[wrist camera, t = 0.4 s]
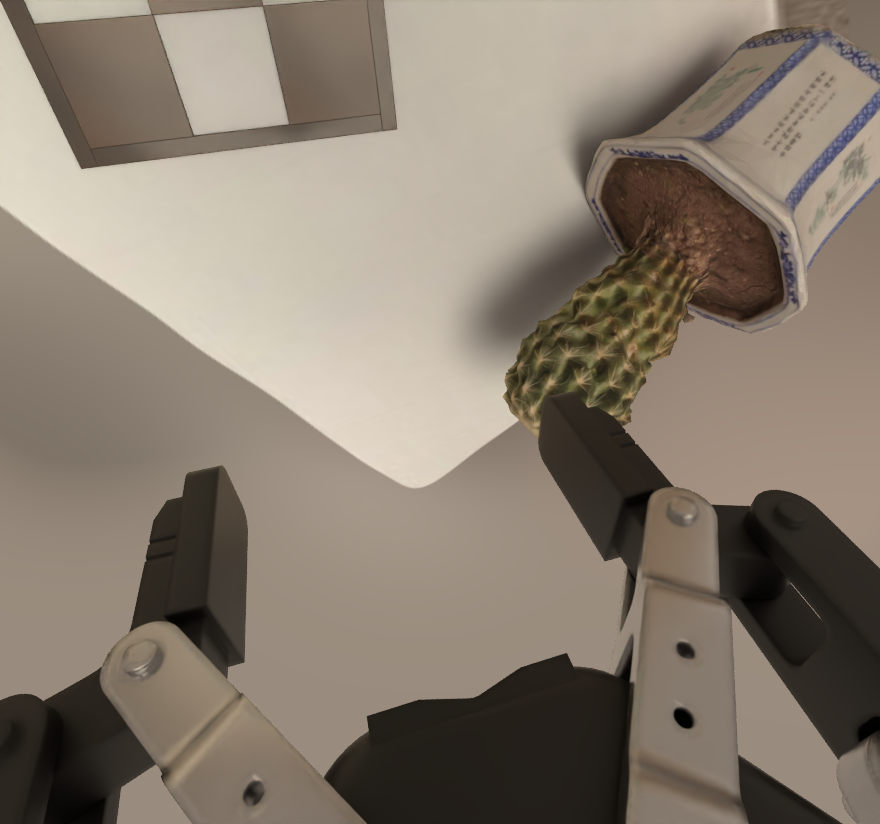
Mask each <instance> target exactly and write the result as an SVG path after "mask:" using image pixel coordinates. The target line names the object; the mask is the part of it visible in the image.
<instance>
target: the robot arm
mask: <svg viewBox="0 0 880 824" xmlns="http://www.w3.org/2000/svg"><path fill="white" fill-rule="evenodd" d="M538 445H539V451H540V454H541V457H542V460H543V462H544V463H545V465H546V467H547V468H548V470H549V472H550V473H551V475H552V476H553V478H554V480H555V481H556V483H557V485H558V486H559V488H560V489H561V491H562V493H563V494H564V496H565V498H566V499H567V501H568V502H569V504H570V506H571V507H572V509H573V510H574V512H575V514H576V515H577V517H578V518H579V520H580V522H581V523H582V525H583V527H584V528H585V530H586V532H587V533H588V535H589V536H590V538H591V540H592V541H593V543H594V544H595V546H596V548H597V549H598V551H599V552H600V554H601V556H602V557H603V559H604V561H608V560H611V559H615V558H618V557H621V558H622V560H623V561H624V563H625V564H626V569H625V572H624V579H623V586H622V594H621V601H620V610H619V617H618V624H617V632H616V639H615V645H614V649H613V653H612V657H611V662H610V667H609V672H608V673H607V672H604V671H601V670H597V669H593V668H586V667H573V665H572V663H571V661H570V659H569V657H568V655H567V653H565V654H562V655H559V656H556V657H552V658H549V659H546V660H543V661H540V662H537V663H533V664H530V665H527V666H524V667H521V668H520V669H518V670H516V671H515V672H514V673H512V674H510V675H509V676H507V677H506V678H504V679H503V680H501V681H500V682H498V683H497V684H495V685H494V686H492V687H491V688H490V689H488V690H487V691H485V692H484V693H482V694H481V695H479V696H477V697H474V698H467V699H432V700H417V701H414V702H411V703H407V704H404V705H401V706H398V707H395V708H391V709H388V710H385V711H382V712H379V713H376V714H372V715H369V716H367V721H368V728H369V731H368V732H367V733H365V734H364V735H362V736H361V737H359V738H358V739H357V740H356V741H355V742H354V743H352V744H351V745H350V746H349V747H348V748H347V749H346V750H345V751H344V752H343V753H342V754H341V755H340V756H339V757H338V758H337V760H336V761H335V762H334V764H333V765H332V766H331V768H330V769H329V770H328V772H327V773H326V775H325V776H324V778H323V777H322V776H321V775H320V774H319V773H318V772H317V770H316V769H315V768H314V767H313V766H312V765H311V764H310V763H309V762H308V761H307V760H306V759H305V758H304V757H303V756H302V755H301V754H300V753H299V751H297V749H296V748H295V747H294V746H293V745H292V744H291V743H290V742H289V741H288V740H287V739H286V738H285V737H284V736H283V735H282V734H281V732H280V731H279V730H278V729H277V728H276V727H275V726H274V725H273V724H272V723H271V722H270V721H269V720H268V719H267V718H266V717H265V716H264V715H263V713H261V711H260V710H259V709H258V708H257V707H256V706H255V705H254V704H253V703H252V702H251V701H250V700H249V699H248V698H247V697H246V696H245V695H244V694H243V693H240V692H239V691H238V690H237V689H236V688H235V687H234V686H233V685H232V684H231V683H230V682H229V681H228V680H227V674H228V667H230V666H233V665H236V664H240V663H244V658H245V620H246V583H247V581H246V580H247V546H248V528H247V527H248V526H247V520H246V515H245V511H244V509H243V506H242V504H241V502H240V499H239V497H238V495H237V493H236V491H235V489H234V486H233V484H232V482H231V480H230V478H229V476H228V473H227V471H226V470H225V468H224V467H223V466H217V467H212V468H207V469H203V470H198V471H193V472H189V473H187V475H186V478H185V484H184V490H183V496H182V497H180V498H176V499H171V500H167V501H166V503H165V504H164V506H163V507H162V509H161V510H160V512H159V513H158V515H157V516H156V518H155V519H154V521H153V526H152V531H151V536H150V545H148V550H147V554H146V560H147V561H146V562H145V565H144V569H143V573H142V578H141V583H140V588H139V592H138V597H137V602H136V607H135V611H134V616H133V621H132V625H131V629H130V631H129V633H128V634H126V635H125V636H124V637H123V638H122V639H121V640H119V641H118V642H117V643H116V645H115V646H114V647H113V648H112V649H111V651H110V652H109V654H108V655H107V657H106V659H105V661H104V663H103V666H102V667H101V668H99V669H98V670H97V671H95V672H94V673H92V674H90V675H89V676H87V677H86V678H84V679H82V680H80V681H79V682H77V683H75V684H73V685H71V686H70V687H68V688H66V689H64V690H63V691H61V692H59V693H57V694H55V695H53V696H52V697H50V698H48V699H46V700H45V701H42V700H41V699H39V698H38V697H37V696H34V695H31V694H18V695H14V696H10V697H8V698H5V699H2V700H0V824H116V823H117V815H118V807H119V799H120V790H121V787H122V786H124V785H125V784H127V783H128V782H130V781H131V780H133V779H134V778H136V777H137V776H139V775H141V774H142V773H144V772H145V771H146V770H148V769H149V768H151V767H153V766H154V765H156V764H157V766H158V767H159V768H160V770H161V772H162V776H161V778H162V781H163V783H164V784H165V786H166V788H167V789H168V791H169V792H170V794H171V795H172V796H173V798H174V799H175V801H176V802H177V803H178V805H179V806H180V807H181V809H182V810H183V812H184V813H185V814H186V816H187V817H188V819H189V820H190V821H191V823H192V824H842V823H840V822H839V821H837V820H836V819H834V818H833V817H831V816H830V815H828V814H827V813H825V812H824V811H822V810H821V809H819V808H818V807H816V806H815V805H813V804H812V803H810V802H809V801H807V800H806V799H804V798H803V797H801V796H799V795H798V794H797V793H795V792H794V791H792V790H791V789H789V788H788V787H786V786H785V785H783V784H782V783H780V782H779V781H777V780H776V779H774V778H773V777H771V776H770V775H768V774H767V773H765V772H764V771H762V770H761V769H759V768H758V767H756V766H755V765H753V764H752V763H750V762H749V761H747V760H746V759H744V758H743V757H741V756H740V755H738V747H737V746H738V745H737V723H736V702H735V679H734V658H733V637H732V615H731V609H732V610H733V611H734V613H735V614H736V616H737V617H738V619H739V620H740V621H741V623H742V624H743V626H744V627H745V629H746V630H747V631H748V633H749V634H750V636H751V637H752V638H753V640H754V641H755V643H756V644H757V646H758V647H759V648H760V650H761V651H762V653H763V654H764V655H765V657H766V658H767V660H768V661H769V662H770V664H771V665H772V667H773V668H774V669H775V671H776V672H777V674H778V675H779V676H780V678H781V679H782V681H783V682H784V684H785V685H786V686H787V688H788V689H789V691H790V692H791V694H792V695H793V696H794V698H795V699H796V701H797V702H798V703H799V705H800V706H801V708H802V709H803V711H804V712H805V713H806V715H807V716H808V717H809V719H810V720H811V722H812V723H813V725H814V726H815V727H816V729H817V730H818V732H819V733H820V734H821V736H822V737H823V739H824V740H825V742H826V743H827V744H828V746H829V747H830V748H831V750H832V751H833V753H834V754H835V756H836V757H837V758H838V760H839V761H838V764H837V780H838V784H839V788H840V790H841V792H842V795H843V796H842V801H843V805H844V807H845V810H846V811H847V813H848V814H849V816H850V817H851V818H852V819H853V820H854V821H855V822H856V823H857V824H880V568H879V567H878V566H876V564H874V562H872V561H871V560H870V559H869V558H868V557H867V556H866V555H865V554H864V553H863V552H862V551H861V550H860V549H859V548H858V547H857V546H856V545H855V544H854V543H853V542H852V541H851V540H850V539H849V538H848V537H847V536H846V535H845V534H844V533H843V532H842V531H841V530H840V529H839V528H838V527H837V526H836V525H835V524H834V523H833V522H832V521H831V520H829V518H827V516H825V515H824V514H823V513H822V512H821V511H820V510H819V509H818V508H817V507H816V506H815V505H814V504H812V503H811V502H810V501H808V500H806V499H805V498H803V497H801V496H798V495H796V494H793V493H790V492H786V491H781V490H769V491H764V492H762V493H760V494H758V495H757V496H756V497H755V499H754V501H753V503H752V504H751V506H730V505H711V504H710V503H709V502H708V501H707V500H706V499H704V498H703V497H701V496H700V495H698V494H697V493H695V492H692V491H690V490H687V489H684V488H678V487H674V486H673V485H672V484H671V483H670V482H669V481H668V480H667V479H666V477H665V476H664V475H663V474H662V473H661V471H660V470H659V469H658V468H657V467H656V466H655V464H654V463H653V462H652V461H651V460H650V459H649V458H648V456H647V455H646V454H645V453H644V452H643V450H642V449H641V448H640V447H639V446H638V445H636V444H635V441H634V440H633V439H632V438H631V436H630V435H629V434H628V433H626V432H625V429H624V428H623V427H622V426H621V425H620V423H619V422H618V421H617V420H616V419H615V418H614V416H612V415H610V414H609V413H607V412H605V411H604V410H602V409H600V408H599V407H597V406H593V407H589V408H588V407H587V405H586V404H585V403H584V402H583V401H582V399H581V398H580V397H579V396H578V394H577V393H575V392H573V391H570V392H566V393H561V394H556V395H552V396H547V397H545V398H544V399H543V403H542V411H541V420H540V429H539V438H538ZM791 583H792V584H793V585H794V586H795V588H796V589H797V590H798V591H799V592H800V594H801V595H802V596H803V597H804V598H805V600H806V601H807V602H808V603H809V604H810V606H811V607H812V608H813V609H814V610H815V612H816V613H817V614H818V615H819V616H820V618H821V619H820V618H819V617H818V616H817V614H816V613H815V612H814V611H813V610H812V608H811V607H810V606H809V605H808V604H807V602H806V601H805V600H804V599H803V598H802V597H801V595H800V594H799V593H798V592H797V591H796V589H795V588H794V587H793V586H792V585H791ZM723 597H724V598H723ZM822 621H823V622H822Z"/></svg>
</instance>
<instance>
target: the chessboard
mask: <svg viewBox="0 0 880 824" xmlns="http://www.w3.org/2000/svg"><path fill="white" fill-rule="evenodd" d="M0 1H1V3H2V5H3V7H4V9H5V11H6V13H7V16H8V18H9V20H10V22H11V24H12V26H13V28H14V30H15V32H16V34H17V36H18V38H19V40H20V43H21V45H22V47H23V49H24V51H25V53H26V55H27V57H28V59H29V61H30V63H31V65H32V67H33V70H34V72H35V74H36V76H37V78H38V80H39V82H40V84H41V86H42V88H43V90H44V92H45V94H46V97H47V99H48V101H49V103H50V105H51V107H52V109H53V111H54V113H55V115H56V117H57V119H58V121H59V124H60V126H61V128H62V130H63V132H64V134H65V136H66V138H67V140H68V142H69V144H70V146H71V148H72V151H73V153H74V155H75V157H76V159H77V161H78V163H79V165H80V167H81V169H84V168H92V167H100V166H108V165H116V164H124V163H132V162H140V161H148V160H156V159H164V158H172V157H179V156H187V155H195V154H203V153H211V152H219V151H227V150H235V149H243V148H251V147H259V146H267V145H274V144H282V143H290V142H298V141H306V140H314V139H322V138H330V137H338V136H346V135H354V134H362V133H369V132H377V131H385V130H393V129H397V124H396V115H395V106H394V96H393V87H392V77H391V68H390V59H389V49H388V40H387V30H386V21H385V12H384V2H383V0H330V1H317V2H305V3H293V4H280V5H268V6H263V3H262V0H148V3H149V6H150V9H151V12H152V15H143V16H131V17H119V18H106V19H94V20H81V21H69V22H56V23H44V24H34V23H33V20H32V18H31V16H30V14H29V12H28V10H27V7H26V5H25V3H24V1H23V0H0ZM256 6H263V8H264V12H265V17H266V21H267V25H268V30H269V34H270V39H271V43H272V48H273V52H274V57H275V61H276V65H277V70H278V74H279V79H280V83H281V88H282V92H283V96H284V101H285V105H286V110H287V114H288V119H289V123H290V125H282V126H273V127H265V128H257V129H248V130H240V131H232V132H224V133H215V134H207V135H199V136H193V133H192V130H191V127H190V124H189V121H188V118H187V115H186V112H185V109H184V106H183V103H182V100H181V97H180V94H179V91H178V88H177V85H176V82H175V79H174V76H173V73H172V70H171V67H170V64H169V61H168V58H167V55H166V52H165V50H164V47H163V44H162V41H161V38H160V35H159V32H158V29H157V26H156V23H155V20H154V17H153V15H157V14H169V13H182V12H194V11H206V10H219V9H231V8H244V7H256Z"/></svg>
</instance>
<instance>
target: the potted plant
mask: <svg viewBox="0 0 880 824" xmlns="http://www.w3.org/2000/svg"><path fill="white" fill-rule="evenodd" d="M879 182H880V60H879V59H878V58H877V57H876V56H875V55H874V54H873V53H871V52H870V51H867V50H865V49H863V48H861V47H859V46H856V45H854V44H852V43H851V42H850V41H848V40H847V39H845V38H844V37H842V36H841V35H839V34H838V33H836V32H835V31H833V30H832V29H830V28H828V27H826V26H824V25H800V26H795V27H791V28H785V29H777V30H771V31H767V32H764V33H762V34H759V35H757V36H754V37H752V38H750V39H749V40H747V41H746V42H744V43H743V44H741V45H740V46H739V48H738V49H737V50H736V51H735V52H734V53H733V54H732V55H731V57H730V58H729V59H728V60H727V61H726V62H725V63H724V64H723V65H722V66H721V67H720V68H719V69H718V70H717V71H716V72H715V73H714V74H713V75H712V76H711V77H710V78H709V79H708V80H707V81H706V82H705V83H704V84H703V85H702V86H701V87H700V88H698V89H697V90H696V91H695V92H694V93H693V94H691V95H690V96H689V97H688V98H687V99H686V100H685V101H684V102H682V103H681V104H680V105H679V106H678V107H677V108H676V109H674V110H673V111H672V112H671V113H670V114H668V115H667V116H666V117H665V118H664V119H662V120H661V121H660V122H659V123H658V124H656V125H655V126H654V127H652V128H651V129H649V130H647V131H646V132H644V133H643V134H640V135H635V136H630V137H625V138H618V139H609V140H604V141H603V142H602V143H601V145H600V147H599V148H598V150H597V152H596V153H595V156H594V159H593V162H592V166H591V169H590V171H589V173H588V177H587V180H586V192H585V193H586V197H587V200H588V203H589V205H590V207H591V209H592V210H593V212H594V214H595V216H596V218H597V222H598V223H599V224H600V225H601V226H602V228H603V229H604V234H605V236H606V237H607V239H608V241H609V242H610V244H611V245H612V246H613V248H614V250H615V251H616V253H617V254H618V255H619V256H618V258H617V260H616V262H615V264H613V265H609V266H607V267H605V268H604V269H603V271H602V273H601V275H599V276H598V277H596V278H593V279H590V280H589V281H588V282H586V283H585V285H583V286H580V287H579V288H577V289H576V290H575V292H574V294H573V297H572V299H571V300H570V301H568V302H567V303H566V304H565V305H563V307H562V308H561V309H560V310H559V311H558V312H557V313H556V314H555V315H553V316H552V317H550V318H549V319H547V320H543V321H539V323H538V326H537V329H536V331H535V332H533V333H532V334H531V335H529V336H528V337H527V338H524V339H522V343H521V347H520V350H519V352H518V354H517V362H516V363H515V364H514V366H512V367H511V368H510V369H509V370H508V372H509V373H506V377H505V383H506V386H507V392H506V393H505V394H504V396H503V398H504V399H505V401H506V402H507V403H508V405H509V409H510V412H511V413H512V414H514V415H515V416H516V417H517V418H518V419H519V420H520V421H521V422H522V423H523V424H524V425H525V426H526V427H527V428H528V429H529V430H530V431H531V432H532V433H533V434H535V436H537V437H538V438H539V429H540V420H541V411H542V403H543V399H544V398H545V397H547V396H552V395H556V394H561V393H566V392H570V391H573V392H575V393H577V394H578V396H579V397H580V398H581V399H582V401H583V402H584V403H585V404H586V405H587V407H588V408H589V407H593V406H597V407H599V408H600V409H602V410H604V411H605V412H607V413H609V414H610V415H612V416H614V418H615V419H616V420H617V421H618V422H619V423H620V425H621V426H624V425H626V424H628V423H630V422H631V416H630V413H631V412H632V411H631V409H630V405H631V403H632V402H633V401H634V399H635V397H636V395H637V393H638V391H639V390H640V388H641V387H642V385H644V384H645V383H646V378H645V374H647V373H648V372H649V371H650V368H651V366H652V365H651V362H653V361H655V360H658V359H660V358H663V357H666V356H668V355H670V353H671V351H672V348H673V345H674V343H675V341H676V340H677V334H678V326H679V323H680V322H681V320H683V321H684V323H687V322H692V320H693V319H694V318H695V317H693V316H691V315H690V314H688V310H689V311H692V312H695V313H697V314H699V315H700V316H702V317H704V318H707V319H710V320H713V321H716V322H718V323H720V324H722V325H725V326H729V327H732V328H735V329H738V330H742V331H745V332H748V333H757V332H762V331H766V330H770V329H771V328H773V327H775V326H778V325H780V324H782V323H783V322H784V321H786V320H787V319H789V318H790V317H792V316H793V315H795V314H796V313H798V312H800V311H801V310H802V309H803V307H804V306H805V305H806V303H807V299H808V298H807V297H808V295H807V272H808V270H809V268H810V266H811V264H812V262H813V260H814V258H815V257H816V255H817V254H818V253H819V251H820V250H821V248H822V247H823V246H824V244H825V243H826V242H827V240H828V239H829V238H830V237H831V235H832V234H833V233H834V232H835V231H836V230H837V229H838V227H839V226H840V225H841V224H842V223H843V222H844V221H845V219H846V218H847V217H848V216H849V215H850V213H851V212H852V211H853V210H854V208H856V206H857V205H858V204H859V203H860V202H861V201H862V200H863V199H864V198H865V197H866V196H867V195H868V194H869V193H870V192H871V191H872V190H873V189H874V188H875V186H876V185H877V184H878V183H879Z"/></svg>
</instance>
